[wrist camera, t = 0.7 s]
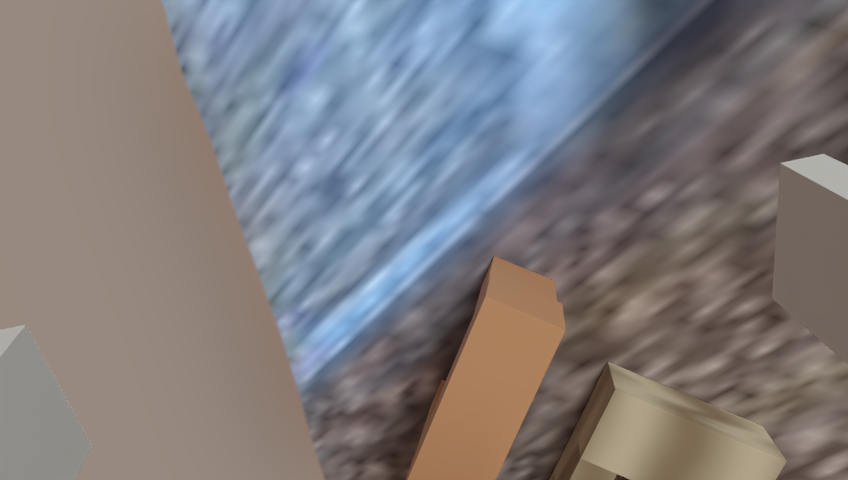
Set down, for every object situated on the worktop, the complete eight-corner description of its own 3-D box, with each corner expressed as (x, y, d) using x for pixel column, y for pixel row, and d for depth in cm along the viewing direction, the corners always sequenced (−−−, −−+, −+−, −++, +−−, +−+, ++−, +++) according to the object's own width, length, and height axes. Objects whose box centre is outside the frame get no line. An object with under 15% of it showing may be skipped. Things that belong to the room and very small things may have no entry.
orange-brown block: (497, 248, 40) (485, 296, 31) (558, 273, 40) (565, 329, 31) (428, 411, 44) (398, 501, 34) (484, 435, 43) (470, 533, 34)
